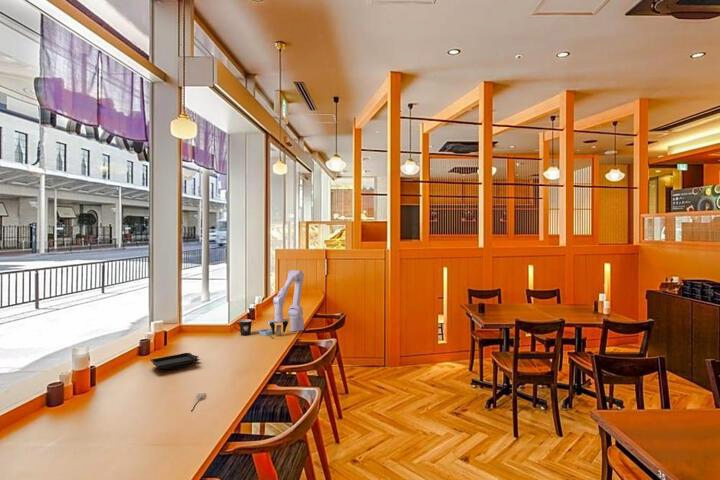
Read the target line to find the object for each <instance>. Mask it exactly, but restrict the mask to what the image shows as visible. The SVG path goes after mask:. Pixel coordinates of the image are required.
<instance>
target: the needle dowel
mask: <svg viewBox="0 0 720 480" xmlns="http://www.w3.org/2000/svg"><path fill="white" fill-rule="evenodd" d="M275 327H276V328H275V329H276V330H275V331H276V337H281V336H282V324H281V325H280V324H277V325H275Z"/></svg>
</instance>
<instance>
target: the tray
mask: <svg viewBox="0 0 720 480" xmlns="http://www.w3.org/2000/svg"><path fill="white" fill-rule="evenodd" d="M198 359H199V355H196V354H192V353H190V352H183V353H180V354H179V353H178V354H172V355H167V356H162V357H157V358H156V357H155V358H151V359H150V360H149V361H150V362H151V363H152V364H153V365H154V366H155V367H156V369H162V368H163V370H171V369H172V370H173V371H176V369H177V370H179V369H181V368H184V367H185V366H187V364H188V365H189V363H190V364H191V362H192V363H195V362H197V360H198ZM178 368H179V369H178Z"/></svg>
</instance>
